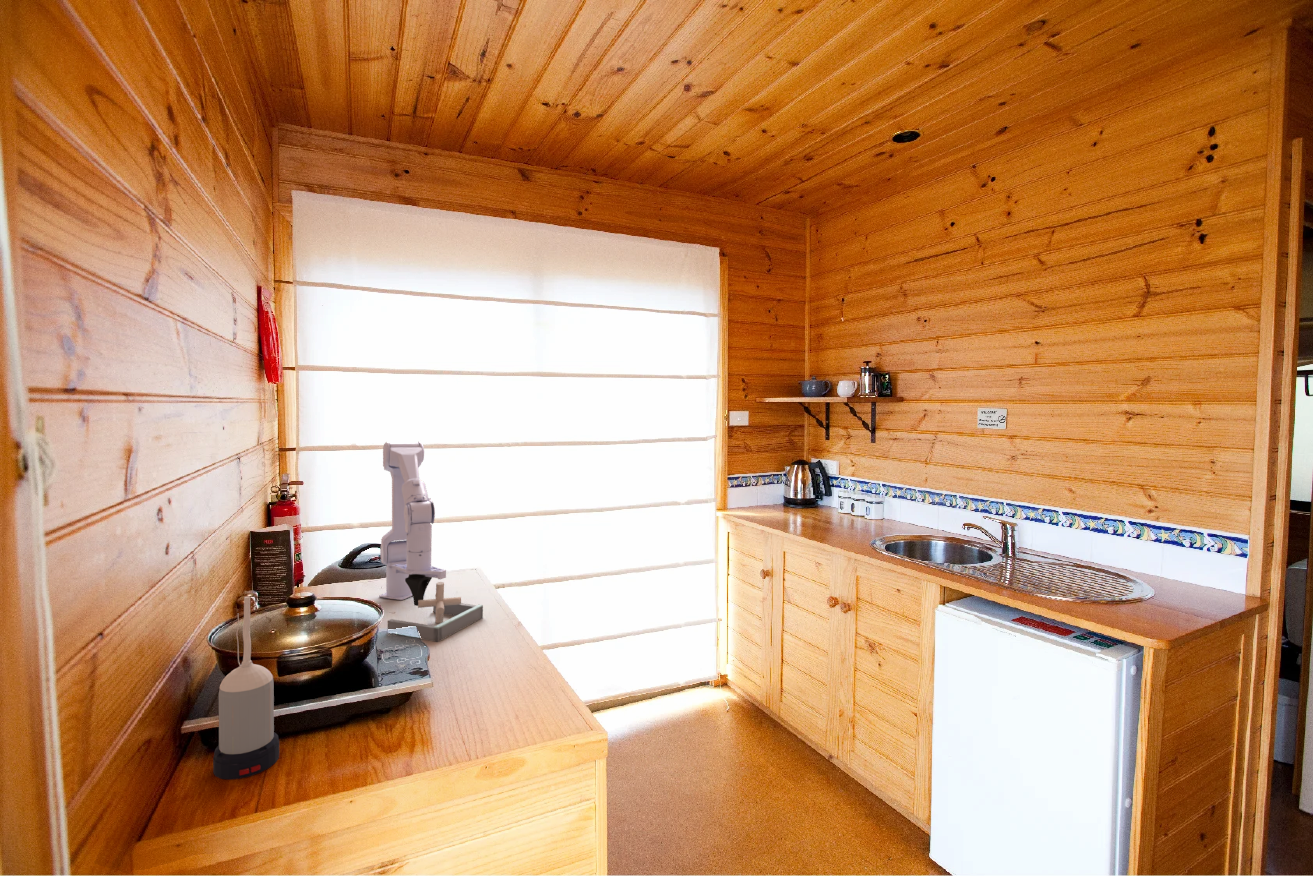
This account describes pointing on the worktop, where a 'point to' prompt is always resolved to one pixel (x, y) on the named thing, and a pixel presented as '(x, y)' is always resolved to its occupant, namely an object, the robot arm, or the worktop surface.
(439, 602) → the pipe connector
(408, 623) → the frame
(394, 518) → the robot arm
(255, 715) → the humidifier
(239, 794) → the worktop surface
